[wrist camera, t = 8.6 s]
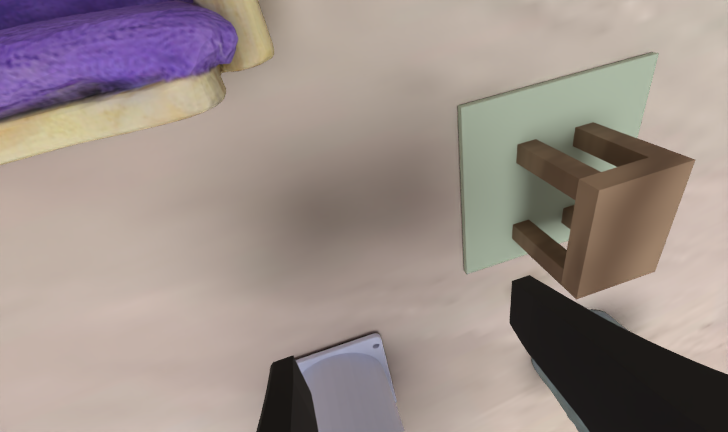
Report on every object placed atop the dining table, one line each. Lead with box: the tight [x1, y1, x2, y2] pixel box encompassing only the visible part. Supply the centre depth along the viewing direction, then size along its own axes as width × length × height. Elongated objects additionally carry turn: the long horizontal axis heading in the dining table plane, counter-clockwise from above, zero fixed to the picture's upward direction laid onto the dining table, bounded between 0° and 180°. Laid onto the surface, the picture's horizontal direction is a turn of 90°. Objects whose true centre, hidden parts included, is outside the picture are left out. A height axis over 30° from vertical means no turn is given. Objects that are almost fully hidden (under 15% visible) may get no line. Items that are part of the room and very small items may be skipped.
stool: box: [512, 122, 695, 299], centre depth 21 cm, size 5×7×6 cm
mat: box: [458, 52, 659, 274], centre depth 23 cm, size 12×12×1 cm
